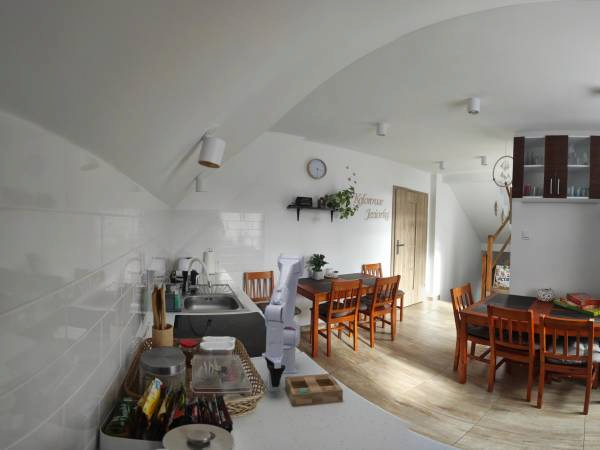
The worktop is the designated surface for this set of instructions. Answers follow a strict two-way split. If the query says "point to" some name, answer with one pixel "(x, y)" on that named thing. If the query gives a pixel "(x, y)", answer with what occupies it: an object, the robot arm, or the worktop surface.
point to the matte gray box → (271, 384)
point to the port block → (313, 389)
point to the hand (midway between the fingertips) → (273, 381)
